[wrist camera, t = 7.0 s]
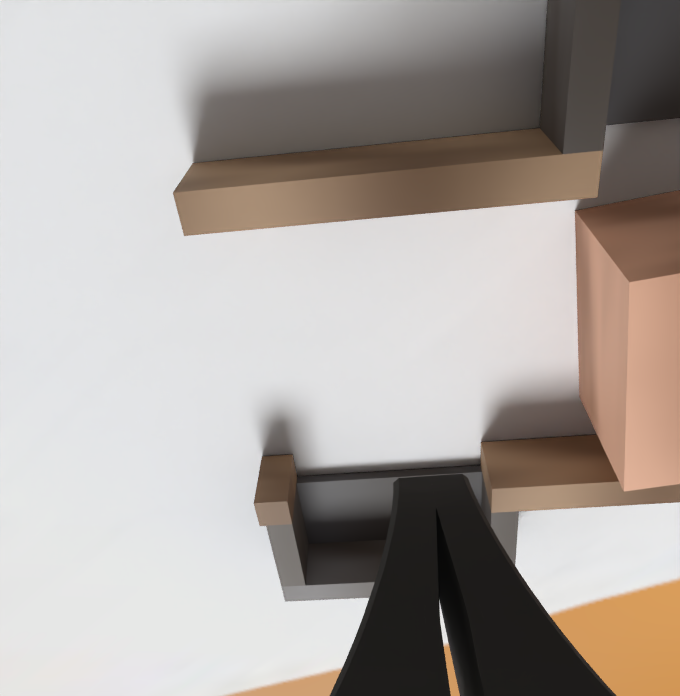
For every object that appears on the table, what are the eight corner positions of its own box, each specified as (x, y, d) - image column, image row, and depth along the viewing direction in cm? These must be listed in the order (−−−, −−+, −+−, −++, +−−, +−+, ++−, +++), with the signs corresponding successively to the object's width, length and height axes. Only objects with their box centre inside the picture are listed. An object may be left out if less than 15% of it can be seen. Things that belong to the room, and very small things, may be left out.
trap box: (285, 553, 23) (277, 615, 21) (150, -17, 13) (112, -6, 11) (772, 526, 22) (815, 590, 20) (1030, -127, 12) (1172, -137, 10)
